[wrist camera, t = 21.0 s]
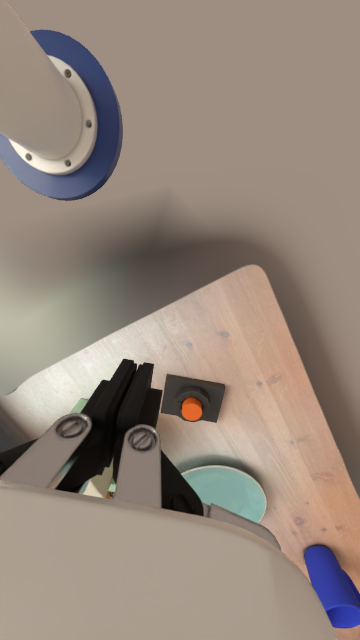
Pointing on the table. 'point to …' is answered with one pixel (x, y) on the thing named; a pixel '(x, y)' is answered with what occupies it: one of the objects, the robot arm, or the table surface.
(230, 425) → the table surface
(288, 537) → the table surface
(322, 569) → the mug
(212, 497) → the plate
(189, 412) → the button
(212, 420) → the block
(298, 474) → the table surface
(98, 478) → the cosmetic box
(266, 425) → the table surface
